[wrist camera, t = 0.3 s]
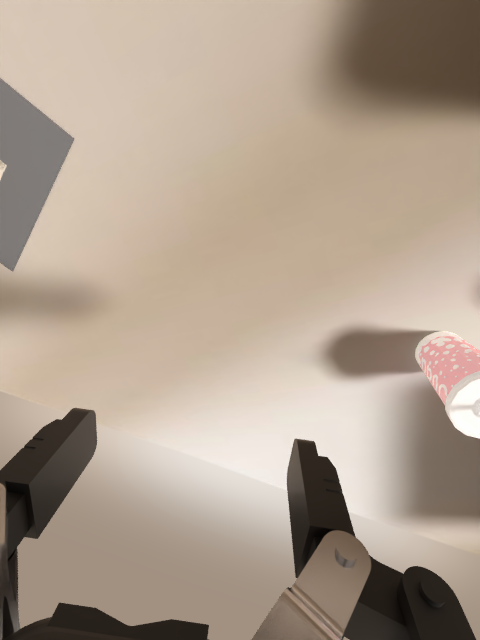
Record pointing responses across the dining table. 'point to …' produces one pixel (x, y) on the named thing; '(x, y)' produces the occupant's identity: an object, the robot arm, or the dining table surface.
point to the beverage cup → (453, 377)
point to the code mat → (25, 168)
